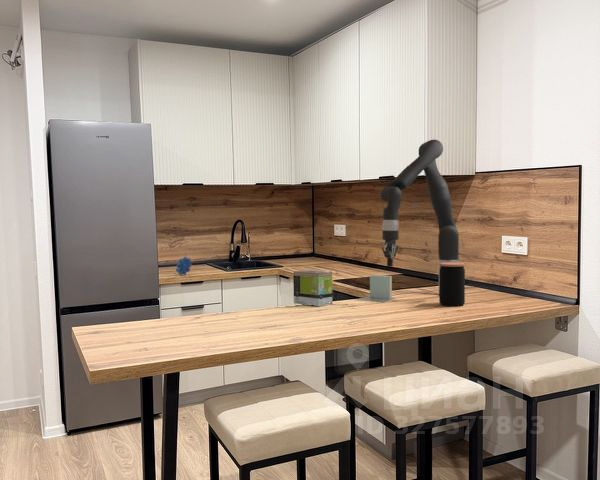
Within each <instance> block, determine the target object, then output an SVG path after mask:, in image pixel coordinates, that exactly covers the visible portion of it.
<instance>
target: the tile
mask: <svg viewBox="0 0 600 480" xmlns="http://www.w3.org/2000/svg"><path fill="white" fill-rule="evenodd" d="M369 296H370V297H375V298H387V299H391V298H393V276H392V275H381V274H380V275H377V274H370V275H369Z"/></svg>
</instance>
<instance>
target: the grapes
mask: <svg viewBox="0 0 600 480" xmlns="http://www.w3.org/2000/svg"><path fill="white" fill-rule="evenodd" d="M192 266H193V265H192V263H191V259H190V258H188V257H187V256H184V257H183V258H182V257H181V258H180V259H178V261H177V262H176V266H175V267H176V269H175V270H176V272H177V274H178V275H179V274H182V275H183V274H185V275H187V273H189V272H190V271H191V267H192Z"/></svg>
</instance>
